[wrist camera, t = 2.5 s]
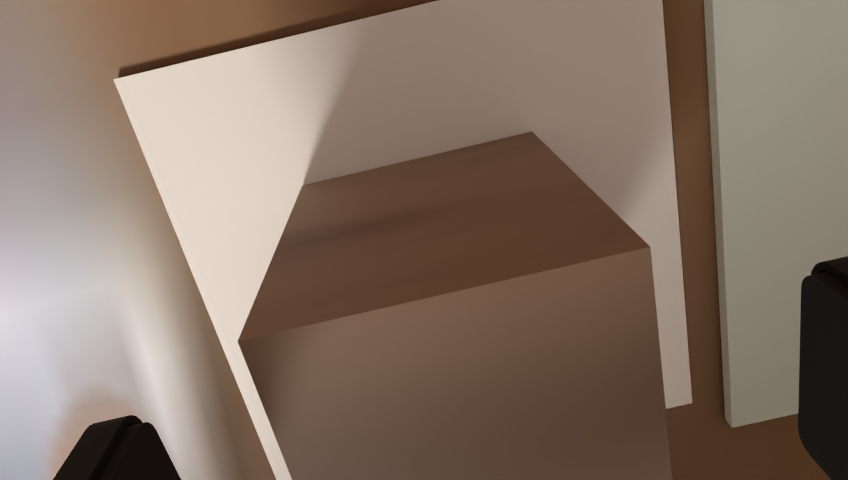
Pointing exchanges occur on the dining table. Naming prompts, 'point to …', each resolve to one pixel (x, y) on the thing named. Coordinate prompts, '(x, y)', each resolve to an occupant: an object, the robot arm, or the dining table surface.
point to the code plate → (410, 134)
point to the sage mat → (774, 183)
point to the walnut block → (461, 326)
